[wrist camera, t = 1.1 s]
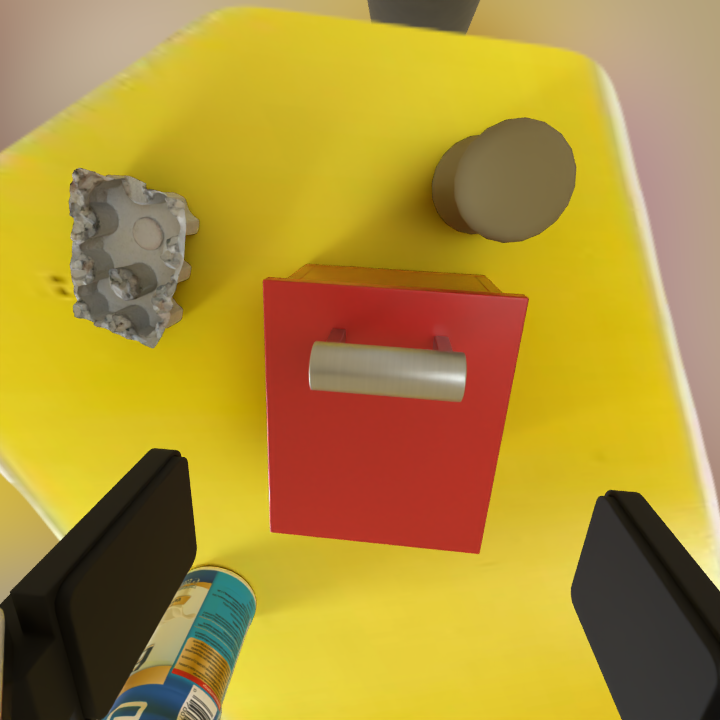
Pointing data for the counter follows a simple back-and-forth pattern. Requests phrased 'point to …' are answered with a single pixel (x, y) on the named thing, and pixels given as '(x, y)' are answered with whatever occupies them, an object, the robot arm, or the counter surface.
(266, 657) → the counter surface
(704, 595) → the robot arm
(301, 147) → the counter surface
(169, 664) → the beverage bottle
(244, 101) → the counter surface
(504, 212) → the cork
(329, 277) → the cabinet
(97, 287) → the egg carton
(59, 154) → the counter surface
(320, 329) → the cab door
